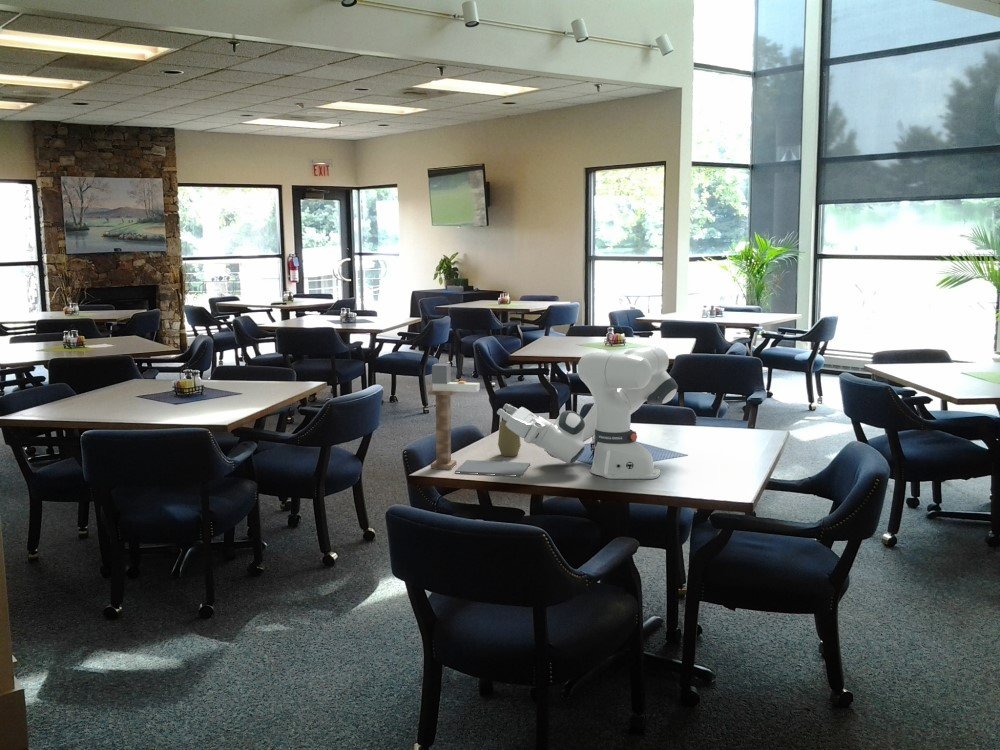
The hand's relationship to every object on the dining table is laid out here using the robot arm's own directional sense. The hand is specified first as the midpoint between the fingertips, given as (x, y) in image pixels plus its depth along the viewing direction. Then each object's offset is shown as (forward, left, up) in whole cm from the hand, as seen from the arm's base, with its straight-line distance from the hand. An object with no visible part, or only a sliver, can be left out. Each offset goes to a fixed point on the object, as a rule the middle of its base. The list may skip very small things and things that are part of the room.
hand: (501, 408), depth 305 cm
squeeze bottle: (+2, -22, -21) cm, 30 cm away
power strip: (+15, 0, +5) cm, 16 cm away
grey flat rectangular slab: (+3, 0, -21) cm, 21 cm away
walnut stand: (+20, 0, -21) cm, 29 cm away
